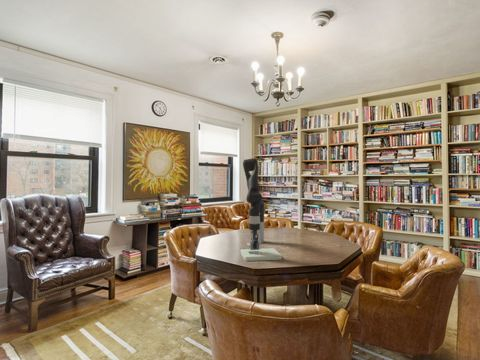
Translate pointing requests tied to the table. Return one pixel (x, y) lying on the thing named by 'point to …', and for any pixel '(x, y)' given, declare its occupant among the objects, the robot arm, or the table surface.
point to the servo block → (252, 245)
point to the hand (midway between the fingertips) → (254, 247)
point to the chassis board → (260, 254)
